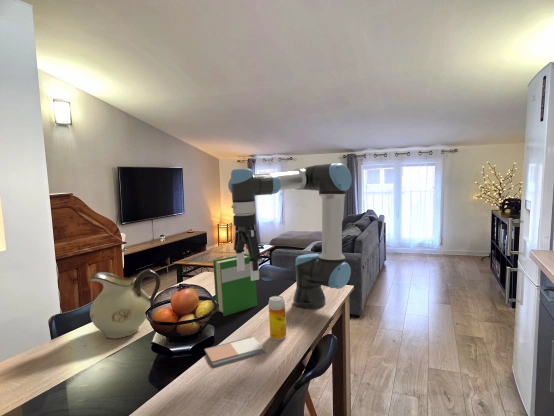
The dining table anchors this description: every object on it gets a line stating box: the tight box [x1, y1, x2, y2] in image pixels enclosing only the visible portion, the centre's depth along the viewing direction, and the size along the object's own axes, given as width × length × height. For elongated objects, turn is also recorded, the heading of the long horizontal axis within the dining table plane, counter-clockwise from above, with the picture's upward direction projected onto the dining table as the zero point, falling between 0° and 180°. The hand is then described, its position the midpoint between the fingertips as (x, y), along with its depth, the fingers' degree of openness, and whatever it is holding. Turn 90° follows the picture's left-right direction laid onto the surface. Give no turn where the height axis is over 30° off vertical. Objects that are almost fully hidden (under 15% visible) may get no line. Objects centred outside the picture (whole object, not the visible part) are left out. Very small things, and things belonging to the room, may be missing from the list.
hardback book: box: [212, 253, 258, 317], centre depth 158 cm, size 18×7×24 cm, turn 127°
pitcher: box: [89, 268, 161, 339], centre depth 139 cm, size 22×24×25 cm
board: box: [204, 336, 266, 368], centre depth 119 cm, size 18×12×1 cm, turn 115°
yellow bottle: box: [268, 295, 287, 341], centre depth 128 cm, size 6×6×15 cm
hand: (247, 275), depth 118 cm, fingers open, 13 cm apart
